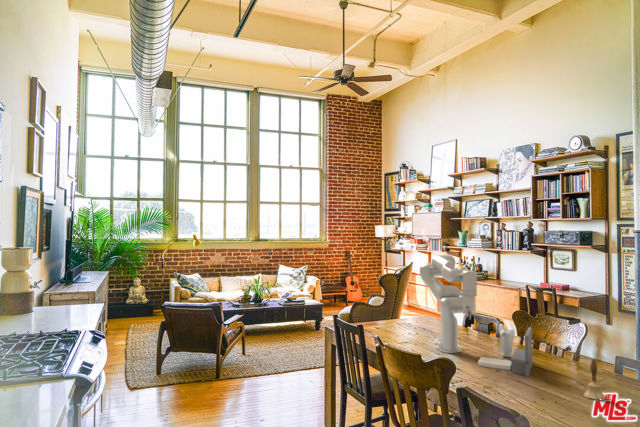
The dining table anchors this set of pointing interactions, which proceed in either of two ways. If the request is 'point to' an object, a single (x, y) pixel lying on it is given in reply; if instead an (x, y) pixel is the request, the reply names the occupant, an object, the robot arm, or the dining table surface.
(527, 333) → the gray l-shaped bracket
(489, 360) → the ceramic tile
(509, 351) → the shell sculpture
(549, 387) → the dining table surface
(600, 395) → the hand bell
